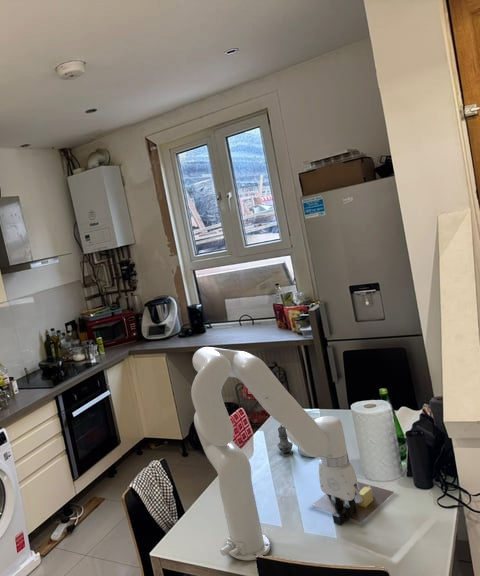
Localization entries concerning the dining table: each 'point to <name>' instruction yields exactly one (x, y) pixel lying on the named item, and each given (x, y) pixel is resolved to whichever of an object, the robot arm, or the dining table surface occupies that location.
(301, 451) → the donut
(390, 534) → the dining table surface
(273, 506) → the dining table surface
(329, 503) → the butter board
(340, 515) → the knife
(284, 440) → the grey chess piece
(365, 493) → the butter pat
